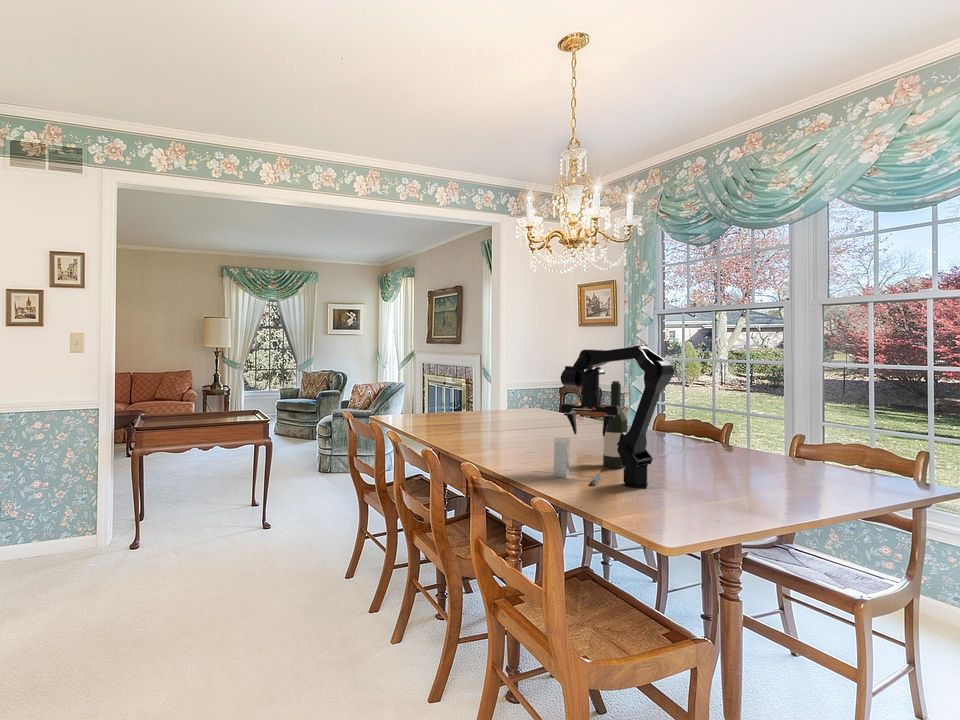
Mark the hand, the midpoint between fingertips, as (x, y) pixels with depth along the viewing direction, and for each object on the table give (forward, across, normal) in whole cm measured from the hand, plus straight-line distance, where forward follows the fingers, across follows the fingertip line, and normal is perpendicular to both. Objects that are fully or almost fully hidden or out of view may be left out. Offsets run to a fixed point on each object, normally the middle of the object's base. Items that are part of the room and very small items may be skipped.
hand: (589, 435), depth 183 cm
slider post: (+12, +7, +9) cm, 17 cm away
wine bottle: (+13, -6, -16) cm, 22 cm away
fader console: (+13, +7, +9) cm, 17 cm away
